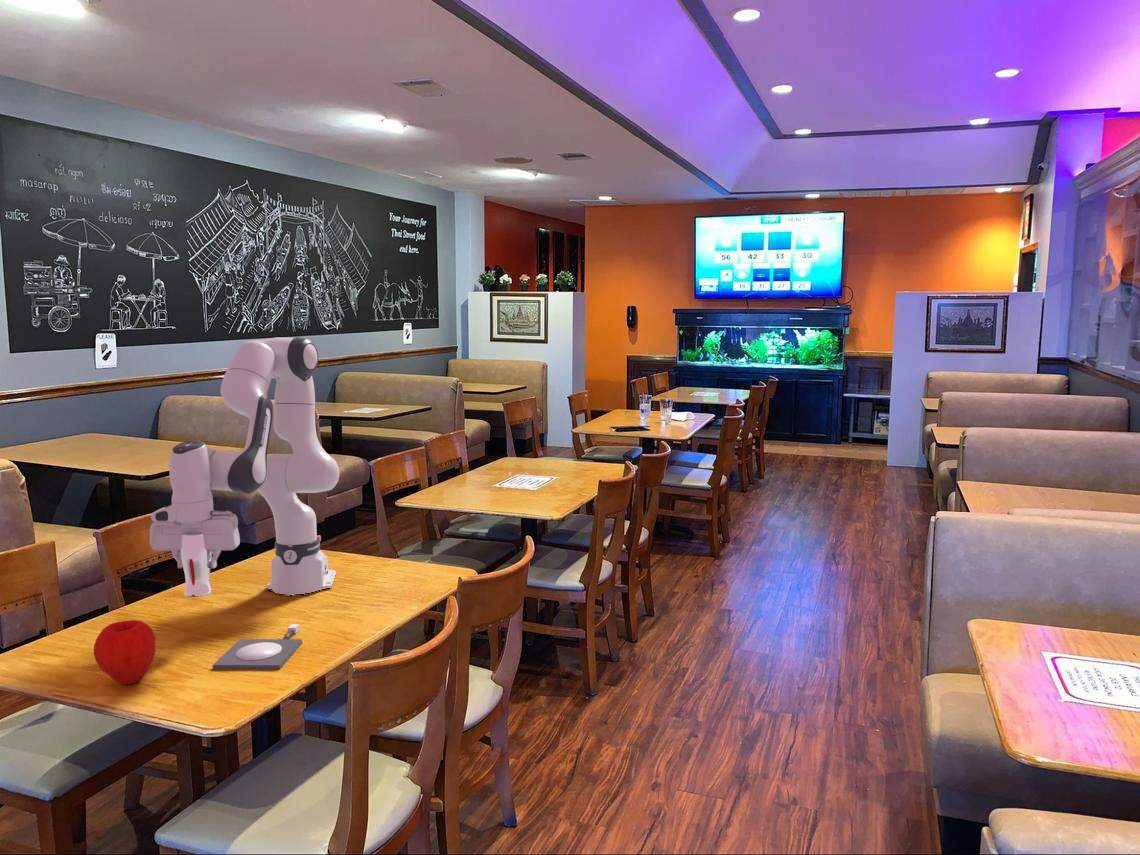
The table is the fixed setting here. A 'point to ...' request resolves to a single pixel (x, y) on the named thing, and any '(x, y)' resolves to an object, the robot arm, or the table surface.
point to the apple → (125, 650)
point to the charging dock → (260, 652)
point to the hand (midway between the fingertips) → (197, 567)
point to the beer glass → (195, 565)
